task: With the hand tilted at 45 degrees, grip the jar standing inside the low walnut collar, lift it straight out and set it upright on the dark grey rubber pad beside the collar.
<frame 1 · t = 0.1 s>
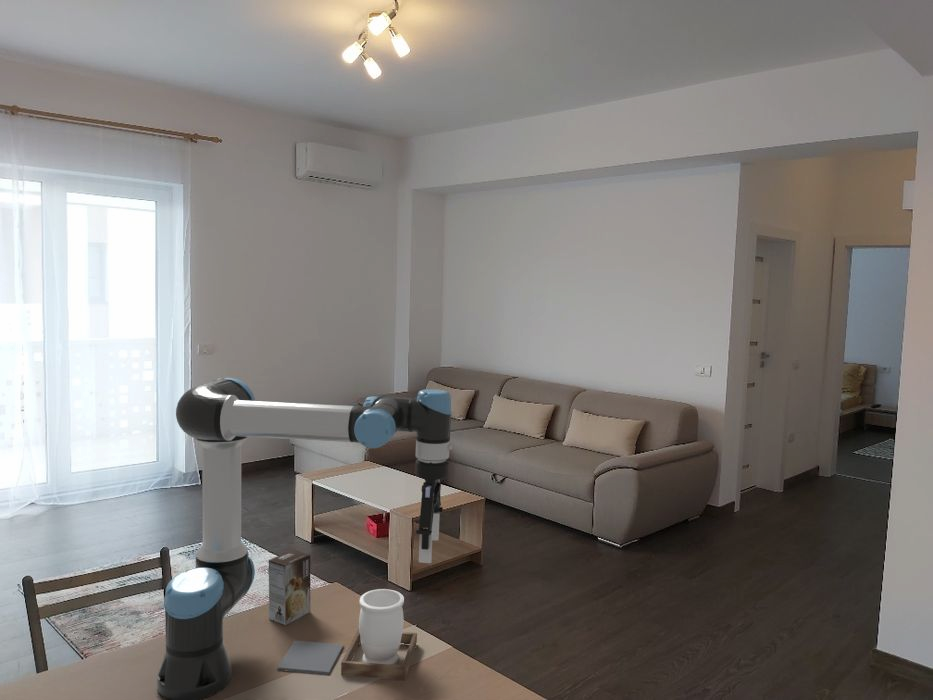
hand: (429, 550, 160), 28 cm above the table, tool pointing down, fingers open, 13 cm apart
collar: (380, 659, 166), on the table
jar: (380, 660, 166), resting in collar
pad: (311, 658, 165), on the table
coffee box: (289, 616, 185), on the table
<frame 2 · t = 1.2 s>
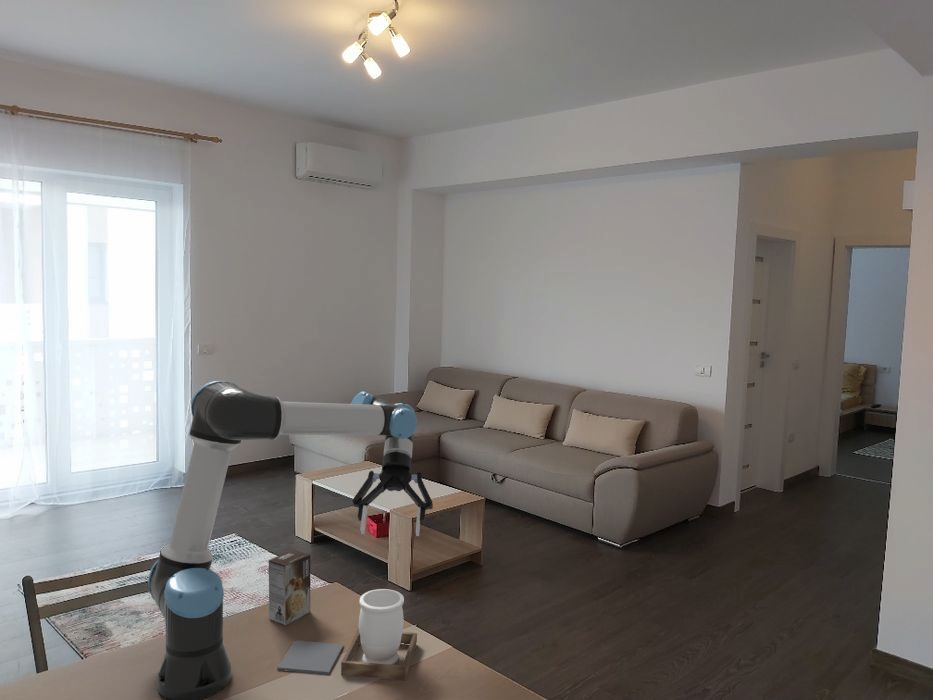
hand: (389, 533, 173), 27 cm above the table, tool tilted 45°, fingers open, 13 cm apart
nothing on the table moved.
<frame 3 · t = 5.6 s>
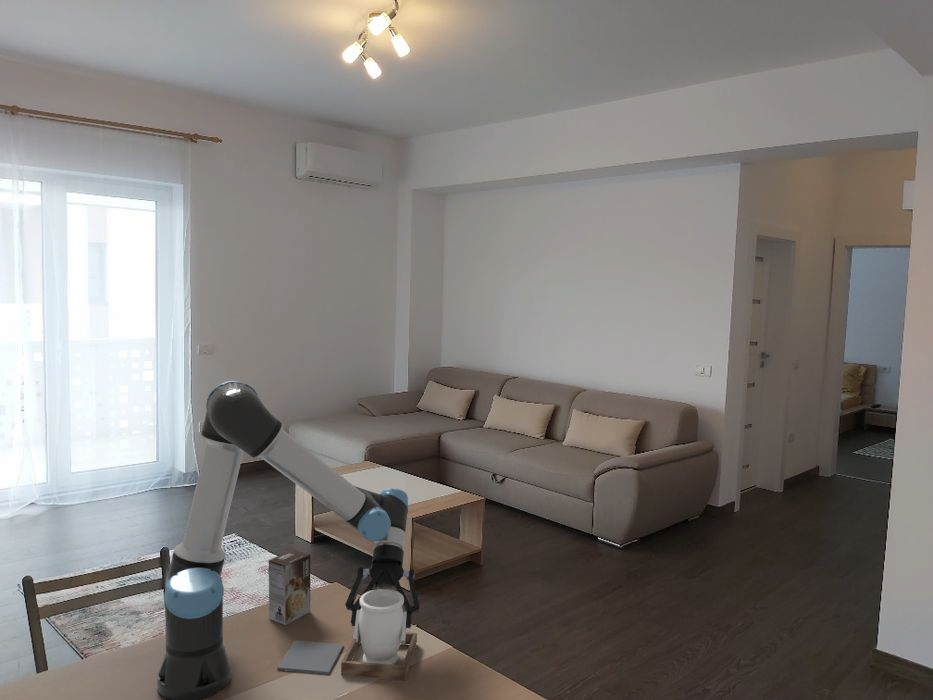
hand: (379, 641, 162), 6 cm above the table, tool tilted 45°, fingers closed on jar, 10 cm apart
jar: (380, 660, 166), resting in collar, touching gripper
everything else where it was.
when the fingers open (8 cm above the table, at t = 12.1 s): jar drops 2 cm, resting on pad.
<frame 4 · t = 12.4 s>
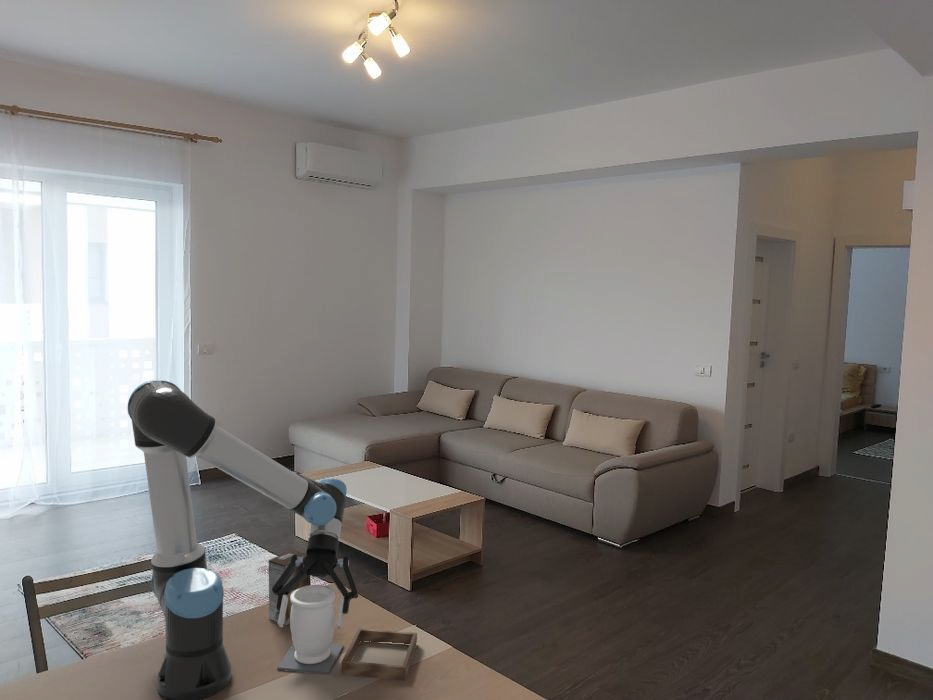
hand: (309, 626, 162), 9 cm above the table, tool tilted 45°, fingers open, 13 cm apart
jar: (312, 656, 165), resting on pad
everything else where it was.
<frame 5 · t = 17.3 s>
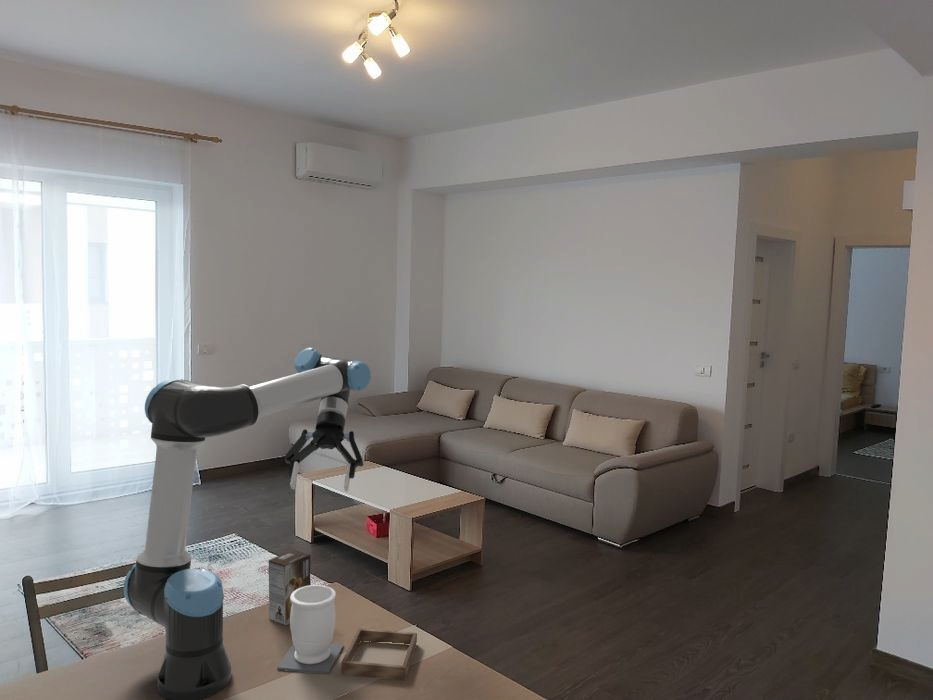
hand: (319, 487, 178), 36 cm above the table, tool tilted 45°, fingers open, 13 cm apart
nothing on the table moved.
at the end: jar inside the target area (0.2 cm from its centre), resting on pad; jar tilted 0°; the gripper is holding nothing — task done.
